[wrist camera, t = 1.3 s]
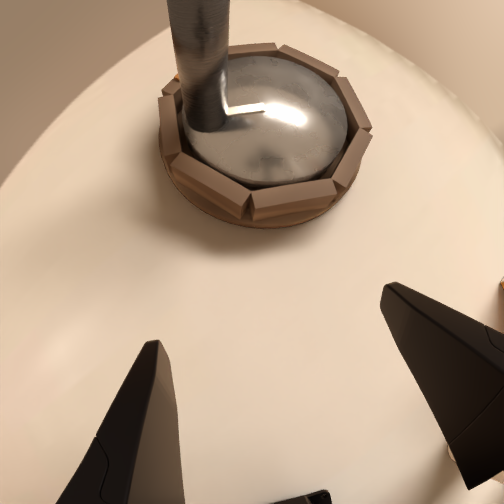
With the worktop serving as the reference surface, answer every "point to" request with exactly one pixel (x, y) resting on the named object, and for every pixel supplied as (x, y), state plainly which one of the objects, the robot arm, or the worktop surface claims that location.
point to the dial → (251, 105)
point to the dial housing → (271, 199)
